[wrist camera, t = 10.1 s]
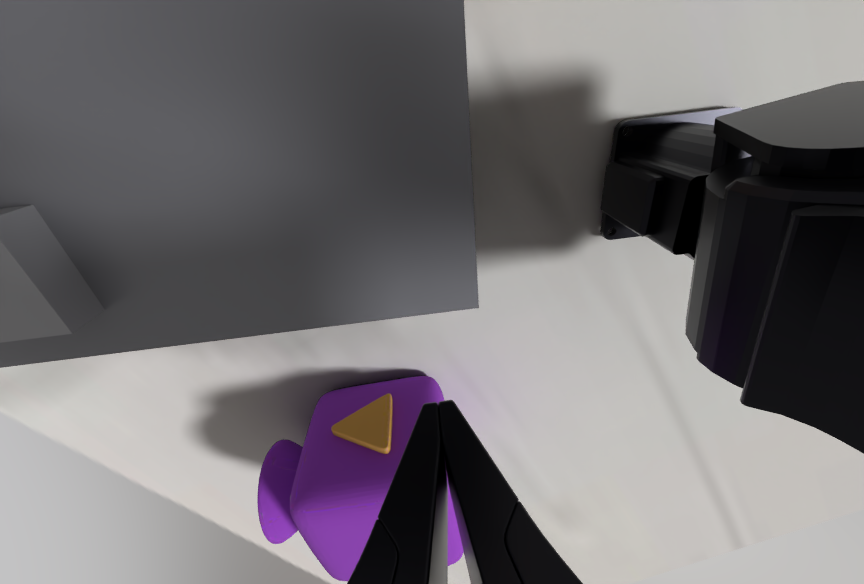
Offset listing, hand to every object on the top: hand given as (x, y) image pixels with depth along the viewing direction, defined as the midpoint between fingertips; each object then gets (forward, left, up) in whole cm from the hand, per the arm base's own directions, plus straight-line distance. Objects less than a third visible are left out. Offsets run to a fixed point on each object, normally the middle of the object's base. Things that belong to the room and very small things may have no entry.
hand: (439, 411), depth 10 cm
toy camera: (+6, +15, -13) cm, 21 cm away
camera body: (+10, -6, -13) cm, 17 cm away
